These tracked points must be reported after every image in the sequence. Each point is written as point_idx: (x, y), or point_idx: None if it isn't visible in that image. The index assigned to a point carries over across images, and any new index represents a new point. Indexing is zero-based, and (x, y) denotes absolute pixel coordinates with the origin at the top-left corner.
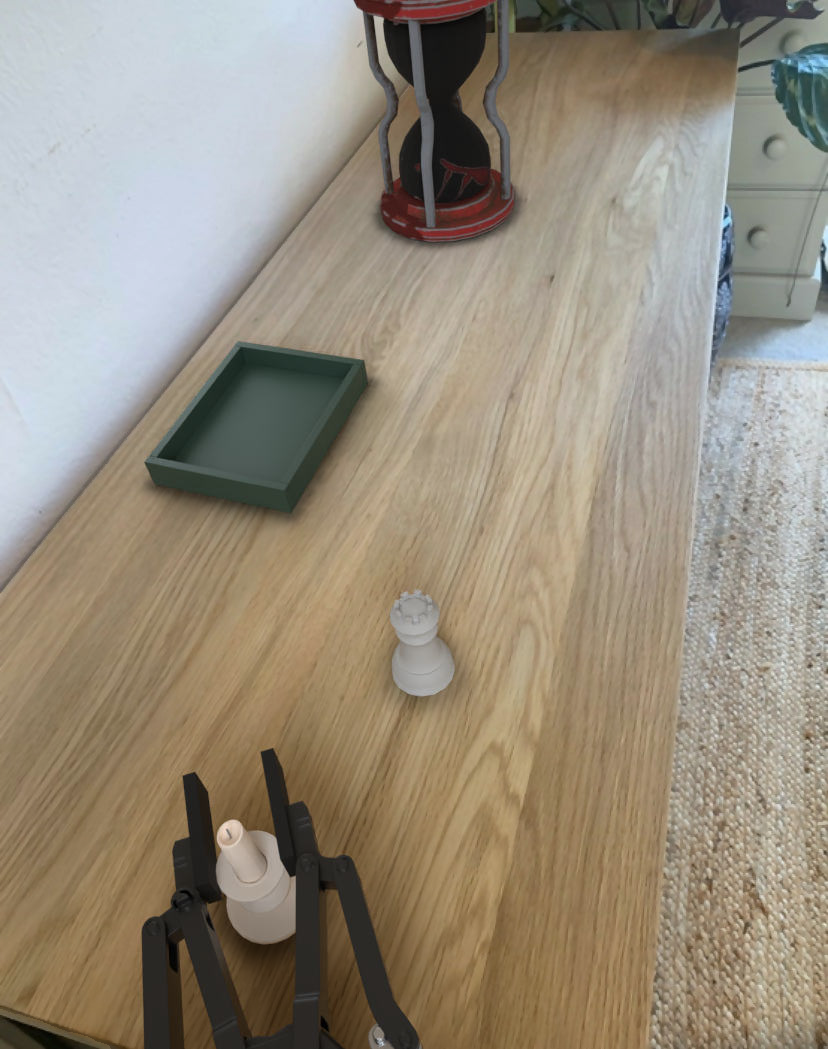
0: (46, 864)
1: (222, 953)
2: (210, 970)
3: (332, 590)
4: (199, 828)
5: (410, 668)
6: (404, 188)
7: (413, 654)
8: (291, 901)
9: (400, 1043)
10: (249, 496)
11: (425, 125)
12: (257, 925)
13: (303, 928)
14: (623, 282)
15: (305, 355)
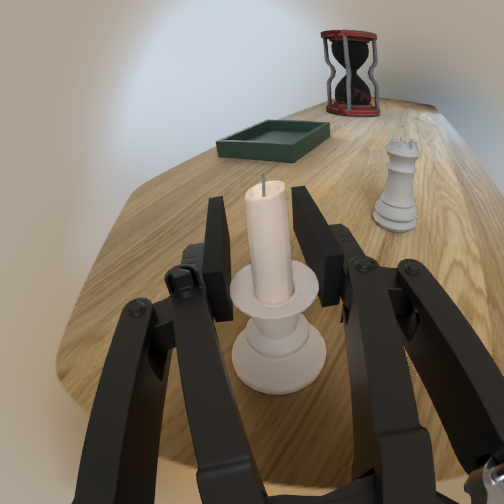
0: (98, 300)
1: (227, 373)
2: (207, 376)
3: (322, 186)
4: (218, 228)
5: (394, 202)
6: (337, 99)
7: (399, 186)
8: (303, 357)
9: None
10: (270, 153)
11: (348, 72)
12: (264, 374)
13: (374, 334)
14: (431, 131)
15: (300, 121)
